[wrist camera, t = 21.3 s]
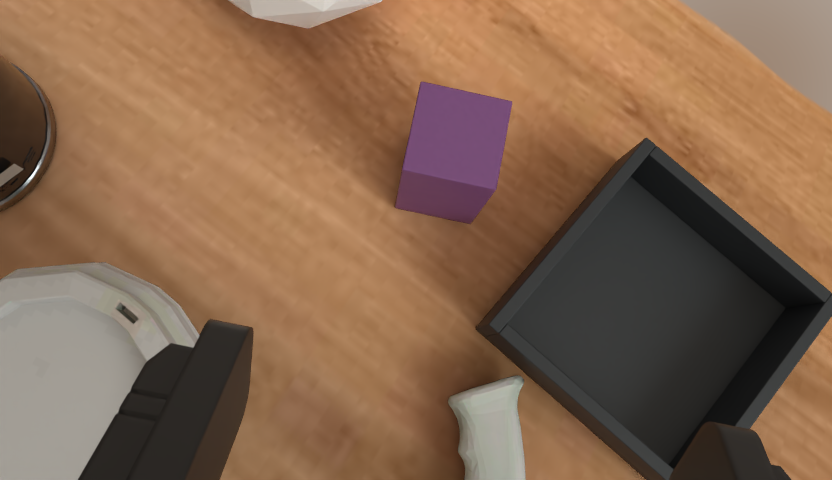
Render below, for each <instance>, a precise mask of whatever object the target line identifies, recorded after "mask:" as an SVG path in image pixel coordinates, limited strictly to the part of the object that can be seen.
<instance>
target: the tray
mask: <svg viewBox="0 0 832 480" xmlns="http://www.w3.org/2000/svg"><path fill="white" fill-rule="evenodd" d="M655 146H656V145H655V144H654V143H653V142H651V141H650V140H649V139H648V138H645V139H644V140H643V141H641V142H640V143H639V144H638V145H636V146H635V147H634V148H633V149H631V150H630V151H629V152H628V153H626V154H625V155H624V156H623V157H621V158H620V159H619V160H618V161H617V162H616V163H615V164H614V166H613V167H612V168H611V169H610V170H609V171H608V173H607V174H606V175H605V176H604V177H603V178H602V180H601V181H600V182H599V183H598V184H597V186H596V187H595V188H594V189H593V190H592V191H591V193H590V194H589V195H588V196H587V197H586V198H585V200H584V201H583V202H582V203H581V204H580V206H579V207H578V208H577V209H576V210H575V211H574V213H573V214H572V215H571V216H570V217H569V219H568V220H567V221H566V222H565V223H564V224H563V226H562V227H561V228H560V229H559V230H558V231H557V233H556V234H555V235H554V236H553V237H552V239H551V240H550V241H549V242H548V243H547V244H546V246H545V247H544V248H543V249H542V250H541V251H540V253H539V254H538V255H537V256H536V257H535V259H534V260H533V261H532V262H531V263H530V264H529V266H528V267H527V268H526V269H525V270H524V272H523V273H522V274H521V275H520V276H519V277H518V279H517V280H516V281H515V282H514V283H513V284H512V286H511V287H510V288H509V289H508V290H507V292H506V293H505V294H504V295H503V296H502V297H501V299H500V300H499V301H498V302H497V303H496V304H495V306H494V307H493V308H492V309H491V310H490V312H489V313H488V314H487V315H486V316H485V317H484V319H483V320H482V321H481V322H480V323H479V325H478V326H477V327H476V330H477V331H478V332H480V333H481V334H482V335H483V336H484V337H485V338H486V339H487V340H489V341H490V342H491V343H492V344H493V345H494V346H495V347H497V348H498V349H499V350H500V351H501V352H502V353H503V354H505V355H506V356H507V357H508V358H509V359H510V360H511V361H512V362H514V363H515V364H516V365H517V366H518V367H519V368H520V369H522V370H523V371H524V372H525V373H526V374H527V375H528V376H530V377H531V378H532V379H533V380H534V381H535V382H536V383H537V384H539V385H540V386H541V387H542V388H543V389H544V390H545V391H547V392H548V393H549V394H550V395H551V396H552V397H553V398H554V399H556V400H557V401H558V402H559V403H560V404H561V405H562V406H564V407H565V408H566V409H567V410H568V411H569V412H570V413H572V414H573V415H574V416H575V417H576V418H577V419H578V420H579V421H581V422H582V423H583V424H584V425H585V426H586V427H587V428H589V429H590V430H591V431H592V432H593V433H594V434H595V435H597V436H598V437H599V438H600V439H601V440H602V441H603V442H604V443H606V444H607V445H608V446H609V447H610V448H611V449H612V450H614V451H615V452H616V453H617V454H618V455H619V456H620V457H621V458H623V459H624V460H625V461H626V462H627V463H628V464H629V465H631V466H632V467H633V468H634V469H635V470H636V471H637V472H639V473H640V474H641V475H642V476H643V477H644V478H645V479H646V480H669V478H670V476H671V473H672V472H673V470H674V468H675V467H676V465H677V464H678V462H679V461H680V459H681V458H682V456H683V454H684V453H685V451H686V450H687V448H688V447H689V445H690V444H691V442H692V440H693V439H694V437H695V436H696V434H697V433H698V431H699V429H700V428H701V427H702V425H703V424H705V423H706V422H709V421H711V422H716V423H721V424H726V425H731V426H736V427H741V428H746V429H750V428H751V426H752V425H753V423H754V422H755V421H756V419H757V418H758V417H759V415H760V414H761V412H762V411H763V410H764V408H765V407H766V406H767V404H768V403H769V402H770V400H771V399H772V397H773V396H774V395H775V393H776V392H777V391H778V389H779V388H780V386H781V385H782V384H783V382H784V381H785V380H786V378H787V377H788V375H789V374H790V373H791V371H792V370H793V369H794V367H795V366H796V364H797V363H798V362H799V360H800V359H801V358H802V356H803V355H804V354H805V352H806V351H807V349H808V348H809V347H810V345H811V344H812V343H813V341H814V340H815V338H816V337H817V336H818V334H819V333H820V332H821V330H822V329H823V327H824V326H825V325H826V323H827V322H828V321H829V319H830V318H831V317H832V294H831V292H830V291H829V290H828V289H826V288H825V287H824V286H823V285H822V284H820V283H819V282H818V281H817V280H816V279H814V278H813V277H812V276H811V275H810V274H809V273H807V272H806V271H805V270H804V269H803V268H801V267H800V266H799V265H798V264H797V263H795V262H794V261H793V260H792V259H791V258H790V257H788V256H787V255H786V254H785V253H784V252H782V251H781V250H780V249H779V248H778V247H776V246H775V245H774V244H773V243H772V242H770V241H769V240H768V239H767V238H766V237H765V236H763V235H762V234H761V233H760V232H759V231H757V230H756V229H755V228H754V227H753V226H751V225H750V224H749V223H748V222H747V221H745V220H744V219H743V218H742V217H741V216H740V215H738V214H737V213H736V212H735V211H734V210H732V209H731V208H730V207H729V206H728V205H726V204H725V203H724V202H723V201H722V200H721V199H719V198H718V197H717V196H716V195H715V194H713V193H712V192H711V191H710V190H709V189H707V188H706V187H705V186H704V185H703V184H701V183H700V182H699V181H698V180H697V179H696V178H694V177H693V176H692V175H691V174H690V173H688V172H687V171H686V170H685V169H684V168H682V167H681V166H680V165H679V164H678V163H677V162H675V161H674V160H673V159H672V158H671V157H669V156H668V155H667V154H666V153H665V152H663V151H662V150H661V149H660V148H659V147H657V146H656V147H655Z"/></svg>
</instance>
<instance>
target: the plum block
mask: <svg viewBox="0 0 832 480" xmlns="http://www.w3.org/2000/svg"><path fill="white" fill-rule="evenodd" d="M511 107H512V101H508V100H503V99H499V98H494V97H490V96H485V95H481V94H476V93H471V92H467V91H462V90H458V89H453V88H449V87H444V86H440V85H435V84H431V83H426V82H421V83H420V88H419V92H418V97H417V102H416V106H415V111H414V116H413V120H412V125H411V130H410V134H409V139H408V144H407V148H406V153H405V158H404V162H403V167H402V172H401V178H400V183H399V188H398V193H397V199H396V204H395V208H398V209H402V210H407V211H412V212H416V213H421V214H426V215H431V216H435V217H440V218H445V219H449V220H454V221H459V222H463V223H468V224H471V222H472V221H473V220H474V218H475V217H476V216H477V214H478V213H479V212H480V210H481V209H482V208H483V206H484V205H485V204H486V202H487V201H488V200H489V198H490V197H491V196H492V194H493V193H494V192H495V190H496V188H497V182H498V177H499V171H500V166H501V161H502V155H503V150H504V145H505V139H506V134H507V128H508V123H509V118H510V112H511Z"/></svg>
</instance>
